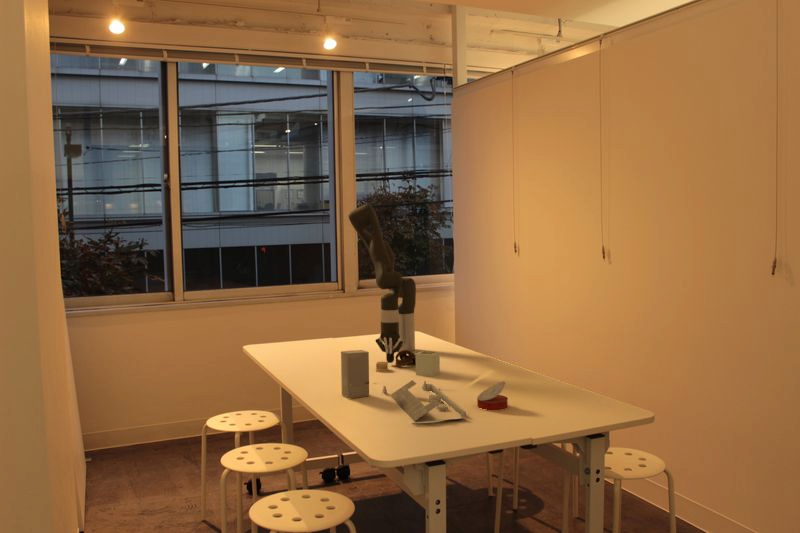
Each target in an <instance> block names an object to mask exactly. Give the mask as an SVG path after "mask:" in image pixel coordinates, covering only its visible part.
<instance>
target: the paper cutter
mask: <svg viewBox="0 0 800 533" xmlns="http://www.w3.org/2000/svg"><path fill="white" fill-rule="evenodd" d="M416 385H417V382H415V380H413V379H412V380H410V381H408V383H405V385H403V386H402V387H400V388H398V389H396V390H395V391H393V392H392V393H390V396H391V397H392V398H393V400H395V401H396V403H398V405H399V406H400V407H401V406H402V407H401V408H403V411H405V412H406V413H407V414H408V415H409V416H410V417H411V418H412V420H414V421H415V422H413V424H430V423H438V422H445V421H444V420H445V419H441V420H428V421H427V420H426V421H417V420H419V419H420V418H422V417H423V416H425V415H426V414H427V413H429V412H431V411H432V410H434V409H435V408H436V410H437V411H439V412H445V411H444V410H448V411H449V407H450V406H451V407H452V408H453V409H454V412H455V413H457V412H458V413H459V414H460V415H461V416H460V415H459V414H458V413H457V414H458V415H459V416H460V418H461V419H460V420H463V419H464V418H465V419H468V417H467V415H466V411H465V409H463V408H462V407H461V406H460V405H459V404H457V403H455V401H453V399H451V398H450V397H449V396H447V395H446V394H445V393H443V392H442V391H441V390H440V389H439V388H437V387H436V386H435V385H434V384H432V383H427V381H426V380H424V381H423V383H422V388H423V391H427V392H429V391H432V392H433V393H435V394H436V395H432V394H430V395H429V396H428V397H429V398H428V399H429V403H428V404H425V405H424V404H423V402H421V401H420V399H418V398H417V397H416V395H414V394H413V393H412V392H411V391H410V390H409V389H412V388H413V387H414V386H416ZM383 393H384V394H387V395H388V390H387V387H386V386H385V385H384V386H383V388H382V394H383ZM384 394H383V395H384ZM441 399H442V400H443V401H445V402H446V403H447V404H448V405H447V404H443V403H441V402H440V401H441ZM448 406H449V407H448ZM451 407H450V408H451ZM452 408H451V409H452ZM453 409H452V410H453ZM455 419H456V418H453V419H452V418H451V419H448V421H454V420H455ZM416 421H417V422H416Z"/></svg>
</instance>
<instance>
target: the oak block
mask: <svg viewBox="0 0 800 533" xmlns="http://www.w3.org/2000/svg"><path fill="white" fill-rule="evenodd" d="M375 365H376V366H375V367H376V368H375V369H376V370H375V371H376V373H379V372H380V373H381V372H384V373H385V372H388V365H389V363H388V361H377V362H376V364H375Z"/></svg>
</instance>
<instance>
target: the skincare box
mask: <svg viewBox="0 0 800 533" xmlns="http://www.w3.org/2000/svg"><path fill="white" fill-rule="evenodd" d="M369 354H370V353H369V351H366V350H362V349H358V350H357V349H355V350H353V349H351V350H342V351H340V359H341V360H340V362H341V363H340V366H341V369H340V370H341V371H340V372H341V375H340V377H341V396H343V397H345V398H347V399H349V398H352V399H357V398H356V397H358V398H363V396H365V397H369V396H370V360H369V359H370V357H369V356H370V355H369Z"/></svg>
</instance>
